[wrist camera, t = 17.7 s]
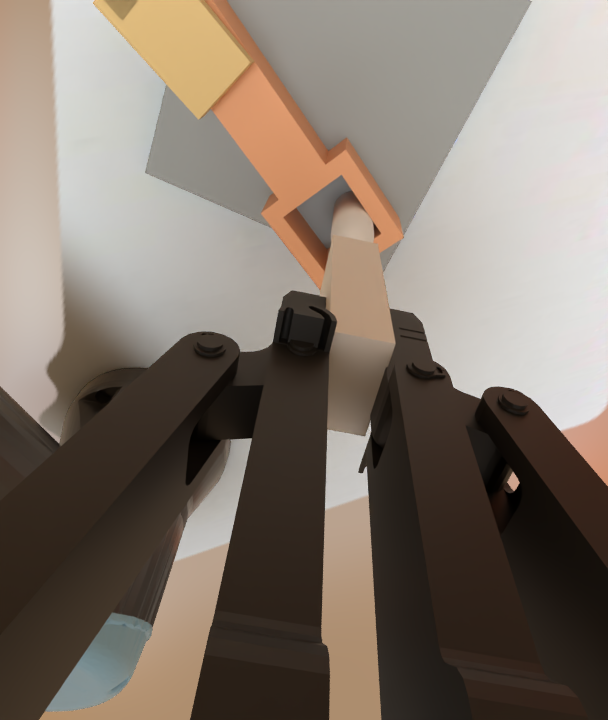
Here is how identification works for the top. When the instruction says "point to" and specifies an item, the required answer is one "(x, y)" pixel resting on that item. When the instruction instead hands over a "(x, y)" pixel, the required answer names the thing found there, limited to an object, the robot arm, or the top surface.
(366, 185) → the link
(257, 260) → the top surface
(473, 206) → the top surface
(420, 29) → the board
